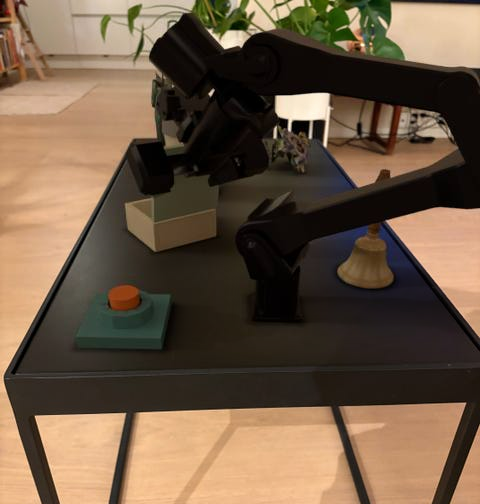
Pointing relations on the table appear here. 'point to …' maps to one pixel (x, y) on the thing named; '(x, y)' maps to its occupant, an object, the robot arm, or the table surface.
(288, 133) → the passion flower
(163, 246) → the shallow tan tray
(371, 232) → the hand bell
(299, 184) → the table surface
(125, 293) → the button
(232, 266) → the table surface
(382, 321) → the table surface
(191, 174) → the lid
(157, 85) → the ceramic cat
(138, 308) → the control box
